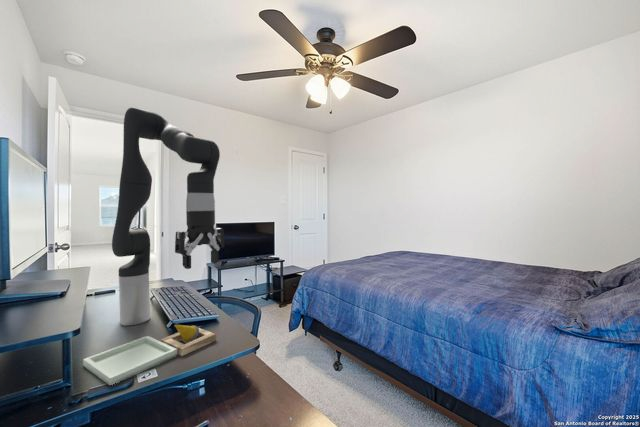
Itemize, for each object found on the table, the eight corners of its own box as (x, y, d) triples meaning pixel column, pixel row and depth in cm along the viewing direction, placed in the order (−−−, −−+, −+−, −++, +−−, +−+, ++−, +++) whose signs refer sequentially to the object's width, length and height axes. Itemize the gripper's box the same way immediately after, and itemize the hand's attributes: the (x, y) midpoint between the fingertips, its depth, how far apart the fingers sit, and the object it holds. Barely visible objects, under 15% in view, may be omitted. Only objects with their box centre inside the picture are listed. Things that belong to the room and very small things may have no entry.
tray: (83, 366, 75) (83, 359, 75) (147, 341, 88) (147, 335, 88) (110, 386, 66) (110, 378, 66) (177, 355, 80) (177, 349, 80)
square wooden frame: (160, 346, 85) (160, 339, 85) (194, 332, 94) (194, 326, 94) (182, 356, 79) (181, 349, 79) (215, 340, 88) (215, 333, 88)
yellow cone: (203, 344, 87) (179, 330, 81) (189, 350, 88) (164, 336, 82) (206, 327, 91) (183, 313, 85) (193, 333, 92) (169, 319, 86)
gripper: (213, 208, 90) (214, 260, 91) (169, 209, 78) (169, 268, 79) (229, 209, 86) (230, 263, 87) (185, 209, 74) (185, 272, 75)
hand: (201, 265), depth 83 cm, fingers open, 8 cm apart
